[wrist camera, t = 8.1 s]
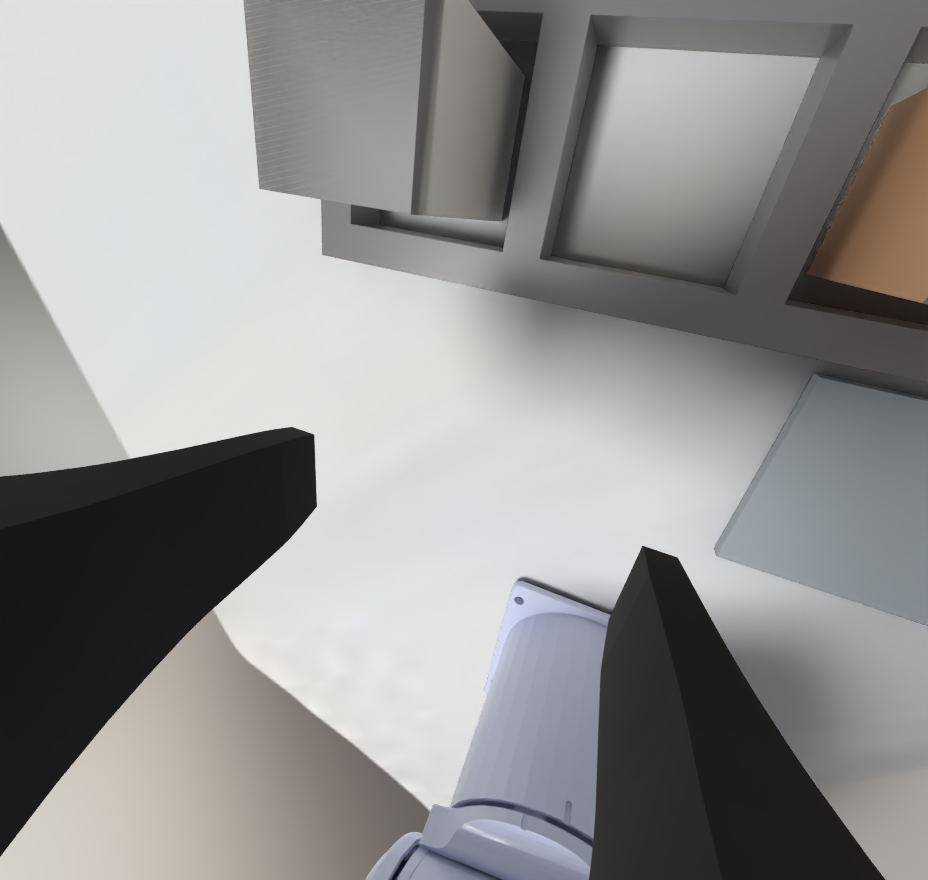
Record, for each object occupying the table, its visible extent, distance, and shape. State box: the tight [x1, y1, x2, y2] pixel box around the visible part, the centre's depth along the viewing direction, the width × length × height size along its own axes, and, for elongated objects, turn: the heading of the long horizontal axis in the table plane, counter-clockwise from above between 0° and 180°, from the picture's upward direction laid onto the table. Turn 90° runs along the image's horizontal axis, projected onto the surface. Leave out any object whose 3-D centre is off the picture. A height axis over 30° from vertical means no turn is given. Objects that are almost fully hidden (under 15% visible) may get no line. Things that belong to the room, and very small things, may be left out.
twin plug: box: [244, 0, 525, 221], centre depth 11 cm, size 4×4×7 cm
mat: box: [714, 373, 928, 626], centre depth 14 cm, size 8×8×1 cm
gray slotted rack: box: [321, 0, 928, 383], centre depth 12 cm, size 8×22×2 cm, turn 82°
